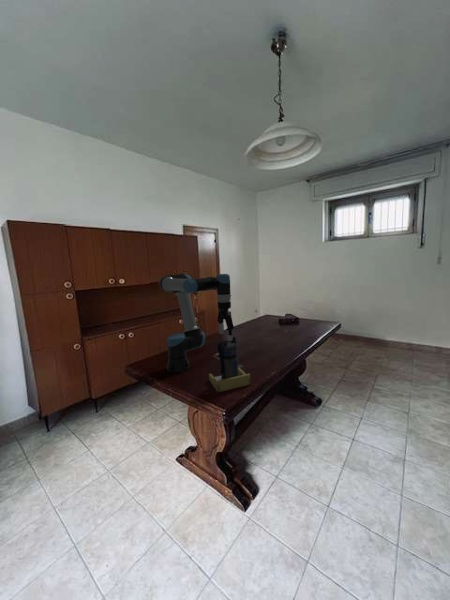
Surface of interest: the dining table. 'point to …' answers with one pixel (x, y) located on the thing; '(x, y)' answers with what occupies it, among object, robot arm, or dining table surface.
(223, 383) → the dock bay
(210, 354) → the dining table surface
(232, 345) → the beverage bottle
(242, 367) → the gray rectangular block
